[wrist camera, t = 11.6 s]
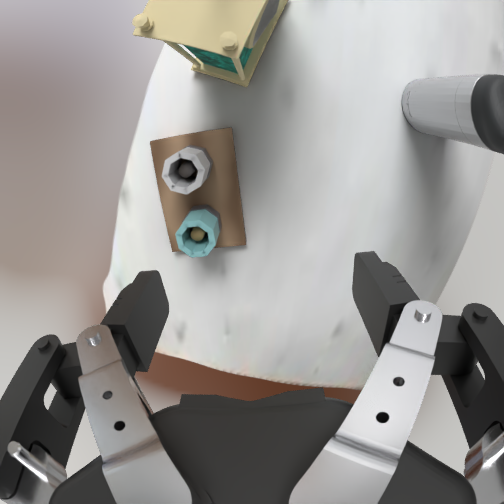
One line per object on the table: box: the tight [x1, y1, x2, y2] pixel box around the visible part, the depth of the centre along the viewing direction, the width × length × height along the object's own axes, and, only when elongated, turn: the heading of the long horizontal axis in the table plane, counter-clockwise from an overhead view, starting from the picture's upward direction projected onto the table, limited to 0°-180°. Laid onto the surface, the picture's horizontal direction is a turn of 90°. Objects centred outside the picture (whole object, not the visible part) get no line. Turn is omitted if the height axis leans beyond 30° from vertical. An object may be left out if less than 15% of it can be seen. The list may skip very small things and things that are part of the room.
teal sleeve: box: [175, 204, 222, 257], centre depth 41 cm, size 5×5×6 cm
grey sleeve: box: [162, 145, 213, 194], centre depth 37 cm, size 5×5×6 cm
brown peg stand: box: [150, 128, 246, 252], centre depth 41 cm, size 12×18×6 cm, turn 6°
